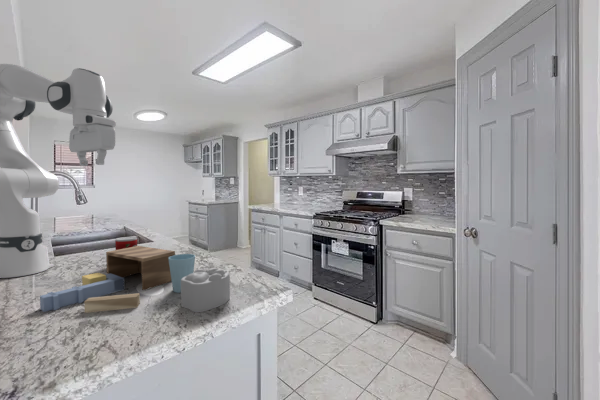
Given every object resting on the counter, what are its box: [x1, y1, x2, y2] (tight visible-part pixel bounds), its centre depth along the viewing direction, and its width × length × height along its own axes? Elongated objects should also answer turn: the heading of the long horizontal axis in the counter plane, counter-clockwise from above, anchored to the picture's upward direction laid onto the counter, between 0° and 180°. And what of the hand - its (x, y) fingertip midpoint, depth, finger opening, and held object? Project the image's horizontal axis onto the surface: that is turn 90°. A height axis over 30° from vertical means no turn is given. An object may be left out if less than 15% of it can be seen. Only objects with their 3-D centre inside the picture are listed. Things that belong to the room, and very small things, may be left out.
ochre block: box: [81, 272, 106, 286], centre depth 90 cm, size 6×4×4 cm
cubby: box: [105, 245, 176, 291], centre depth 98 cm, size 20×12×10 cm, turn 62°
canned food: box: [114, 236, 138, 250], centre depth 119 cm, size 8×8×11 cm
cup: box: [168, 253, 196, 294], centre depth 89 cm, size 8×8×10 cm
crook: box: [39, 273, 125, 313], centre depth 84 cm, size 10×19×4 cm, turn 146°
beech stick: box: [83, 292, 141, 314], centre depth 76 cm, size 3×12×3 cm, turn 106°
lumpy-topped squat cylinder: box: [180, 267, 231, 313], centre depth 80 cm, size 10×13×9 cm
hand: (91, 165), depth 92 cm, fingers open, 8 cm apart
